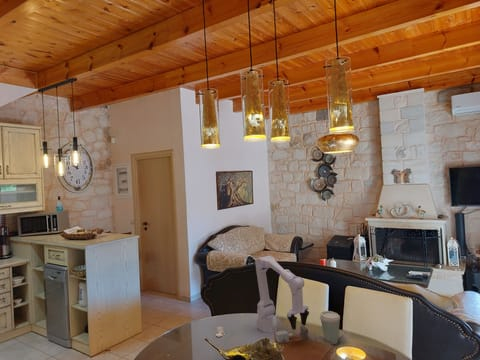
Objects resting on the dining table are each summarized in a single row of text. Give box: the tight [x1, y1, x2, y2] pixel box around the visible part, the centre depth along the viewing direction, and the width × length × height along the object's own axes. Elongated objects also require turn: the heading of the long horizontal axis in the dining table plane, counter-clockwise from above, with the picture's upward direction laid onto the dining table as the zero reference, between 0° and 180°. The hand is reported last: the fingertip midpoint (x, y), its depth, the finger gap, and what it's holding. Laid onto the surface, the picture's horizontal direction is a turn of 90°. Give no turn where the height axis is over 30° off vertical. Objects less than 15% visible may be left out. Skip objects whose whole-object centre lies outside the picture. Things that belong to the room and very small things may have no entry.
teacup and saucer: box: [215, 326, 224, 338], centre depth 198 cm, size 9×8×4 cm
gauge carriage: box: [274, 330, 294, 344], centre depth 182 cm, size 9×7×4 cm
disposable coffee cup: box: [319, 310, 341, 345], centre depth 181 cm, size 11×11×15 cm
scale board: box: [274, 325, 309, 344], centre depth 184 cm, size 18×12×6 cm, turn 104°
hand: (298, 327), depth 178 cm, fingers open, 7 cm apart
